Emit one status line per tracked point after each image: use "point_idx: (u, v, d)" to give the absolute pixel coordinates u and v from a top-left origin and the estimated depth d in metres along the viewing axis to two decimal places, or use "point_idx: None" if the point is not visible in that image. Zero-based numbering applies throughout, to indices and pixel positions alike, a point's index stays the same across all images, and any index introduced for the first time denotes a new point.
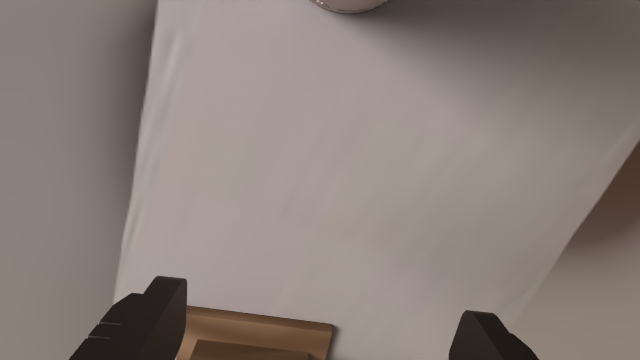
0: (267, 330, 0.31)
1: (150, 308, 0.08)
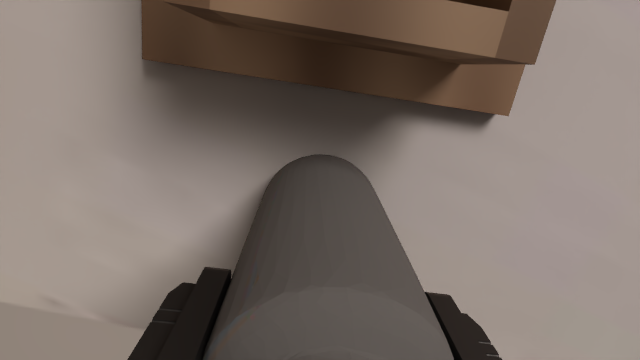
0: None
1: (205, 295, 0.08)
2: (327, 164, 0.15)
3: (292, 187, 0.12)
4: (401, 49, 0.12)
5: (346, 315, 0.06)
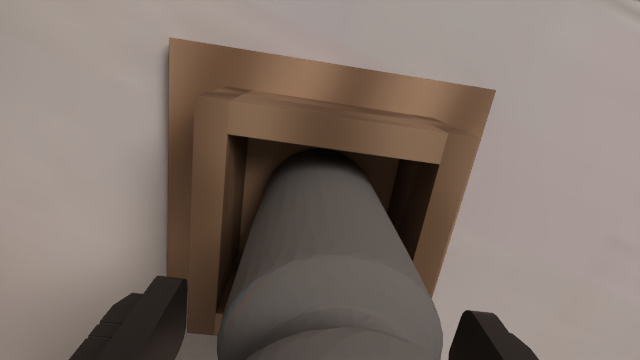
0: None
1: (150, 308, 0.08)
2: (325, 157, 0.16)
3: (294, 177, 0.14)
4: None
5: (347, 278, 0.08)
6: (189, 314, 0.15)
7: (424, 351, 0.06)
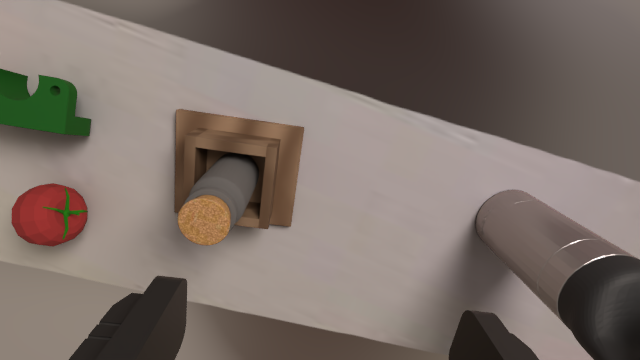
0: (290, 186, 0.46)
1: (150, 308, 0.08)
2: (234, 154, 0.42)
3: (218, 161, 0.40)
4: None
5: (216, 181, 0.34)
6: None
7: (226, 191, 0.32)
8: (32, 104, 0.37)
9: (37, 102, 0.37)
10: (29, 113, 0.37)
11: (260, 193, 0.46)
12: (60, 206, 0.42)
